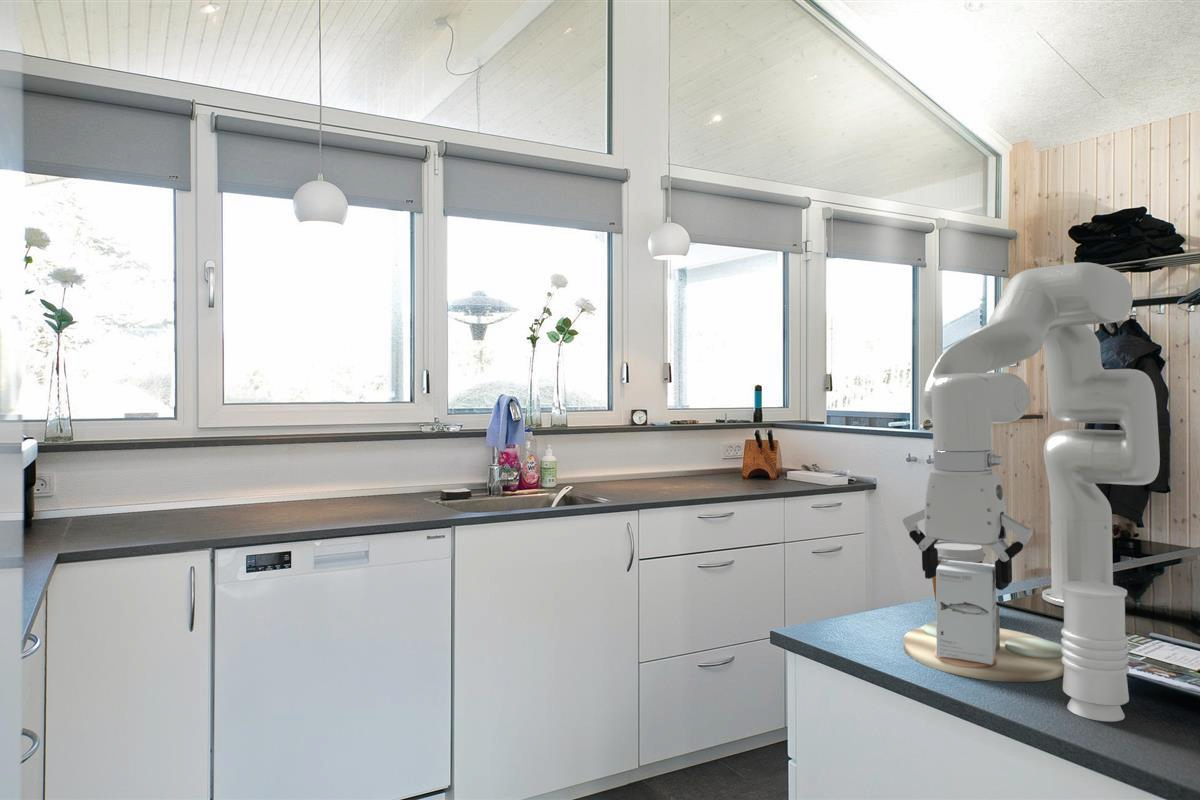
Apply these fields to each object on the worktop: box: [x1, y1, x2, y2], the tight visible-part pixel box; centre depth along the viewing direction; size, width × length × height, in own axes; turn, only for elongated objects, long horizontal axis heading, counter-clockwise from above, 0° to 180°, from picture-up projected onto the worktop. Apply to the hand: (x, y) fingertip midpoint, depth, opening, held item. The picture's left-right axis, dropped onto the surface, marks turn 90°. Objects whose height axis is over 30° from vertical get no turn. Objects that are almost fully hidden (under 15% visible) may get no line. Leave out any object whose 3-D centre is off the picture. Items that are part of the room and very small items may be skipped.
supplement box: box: [935, 560, 997, 665], centre depth 109 cm, size 7×7×13 cm
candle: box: [1060, 581, 1130, 722], centre depth 93 cm, size 7×7×15 cm
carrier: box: [903, 604, 1064, 683], centre depth 113 cm, size 22×22×8 cm
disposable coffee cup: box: [931, 540, 987, 602], centre depth 134 cm, size 10×10×12 cm
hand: (966, 582), depth 109 cm, fingers open, 9 cm apart
